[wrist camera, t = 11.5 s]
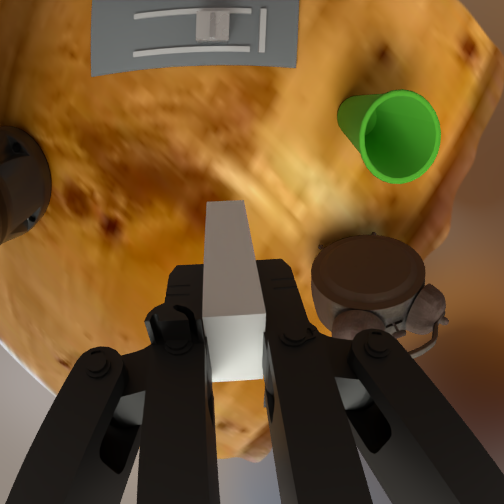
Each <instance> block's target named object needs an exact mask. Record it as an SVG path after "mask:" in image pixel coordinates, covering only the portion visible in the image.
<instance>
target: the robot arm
mask: <svg viewBox="0 0 504 504" xmlns="http://www.w3.org/2000/svg"><path fill="white" fill-rule="evenodd" d="M50 196H51V177H50V171H49V167H48V164H47V161H46V158H45V156H44V154H43V152H42V150H41V149H40V147H39V146H38V144H37V143H36V142H35V141H34V139H33V138H32V137H31V136H29V135H28V134H27V133H26V132H24V131H22V130H20V129H18V128H15V127H11V126H1V127H0V245H1V244H2V243H4V242H7V241H9V240H11V239H13V238H16V237H18V236H20V235H23V234H25V233H26V232H28V231H29V230H31V229H32V228H33V227H34V226H35V225H36V223H37V222H38V221H39V220H40V219H41V218H42V216H43V215H44V213H45V212H46V209H47V207H48V204H49V201H50ZM144 322H145V325H146V328H147V331H148V335H149V338H150V341H151V345H149V346H148V347H146V348H144V349H142V350H139V351H137V352H133V353H129V354H125V355H122V356H121V355H120V354H119V353H118V352H117V351H116V350H114V349H112V348H110V347H101V346H100V347H96V348H92V349H90V350H88V351H86V352H85V353H83V354H82V355H81V356H80V358H79V359H78V360H77V361H76V363H75V365H74V367H73V368H72V370H71V372H70V373H69V375H68V377H67V379H66V380H65V382H64V384H63V386H62V388H61V389H60V391H59V393H58V395H57V397H56V398H55V400H54V402H53V404H52V406H51V408H50V410H49V411H48V414H47V415H46V417H45V419H44V421H43V423H42V425H41V427H40V429H39V431H38V433H37V435H36V437H35V439H34V441H33V443H32V445H31V447H30V449H29V451H28V453H27V455H26V458H25V460H24V462H23V464H22V466H21V469H20V471H19V473H18V475H17V477H16V480H15V482H14V484H13V487H12V489H11V491H10V494H9V496H8V499H7V501H6V503H5V504H120V502H121V499H122V495H123V493H124V490H125V487H126V484H127V481H128V478H129V475H130V473H131V469H132V467H133V464H134V461H135V458H136V455H137V452H138V449H139V447H140V453H139V468H138V486H137V504H220V495H219V481H218V467H217V451H216V433H215V413H214V396H213V391H212V382H221V381H238V380H252V379H263V375H264V381H265V394H264V407H266V408H267V415H268V421H269V428H270V434H271V441H272V447H273V453H274V460H275V466H276V472H277V479H278V485H279V492H280V498H281V504H373V502H372V499H371V495H370V492H369V489H368V485H367V481H366V478H365V474H364V471H363V467H362V464H361V460H360V457H359V454H358V451H357V447H358V449H359V451H360V452H361V454H362V456H363V457H364V459H365V460H366V462H367V463H368V465H369V467H370V468H371V470H372V472H373V473H374V475H375V476H376V478H377V480H378V481H379V483H380V485H381V486H382V488H383V489H384V491H385V492H386V494H387V496H388V497H389V499H390V501H391V502H392V504H504V474H503V473H502V472H501V470H500V469H499V467H498V466H497V465H496V463H495V462H494V461H493V459H492V458H491V457H490V455H489V454H488V453H487V451H486V450H485V449H484V447H483V446H482V444H481V443H480V442H479V440H478V439H477V438H476V437H475V435H474V434H473V433H472V431H471V430H470V429H469V427H468V426H467V425H466V424H465V422H464V421H463V420H462V418H461V417H460V416H459V415H458V413H457V412H456V411H455V409H454V408H453V407H452V406H451V404H450V403H449V402H448V401H447V400H446V398H445V397H444V396H443V394H442V393H441V392H440V391H439V389H438V388H437V387H436V386H435V385H434V383H433V382H432V381H431V380H430V378H429V377H428V376H427V375H426V374H425V373H424V371H423V370H422V369H421V368H420V366H419V365H418V364H417V363H416V362H415V360H414V359H413V358H412V357H411V356H410V355H409V353H408V352H407V351H406V350H405V349H404V348H403V346H402V345H401V344H400V343H399V342H398V340H397V339H396V338H395V337H393V336H392V335H391V334H390V333H388V332H385V331H383V330H381V329H373V328H371V329H365V330H362V331H360V332H359V333H357V334H356V335H355V337H354V338H353V340H347V339H340V338H333V337H329V336H326V335H324V334H322V333H320V332H319V331H318V330H317V328H316V327H315V326H314V325H312V324H311V323H310V322H309V320H308V318H307V315H306V312H305V309H304V306H303V303H302V300H301V297H300V294H299V291H298V288H297V285H296V282H295V280H294V276H293V273H292V270H291V267H290V266H289V265H288V264H287V263H285V262H284V261H283V260H282V259H269V260H255V255H254V250H253V245H252V240H251V235H250V229H249V224H248V219H247V214H246V209H245V204H244V200H239V201H217V202H207V209H206V227H205V248H204V264H195V265H177V266H176V267H175V268H174V270H173V271H172V272H171V273H170V275H169V279H168V285H167V291H166V297H165V303H163V304H161V305H159V306H157V307H155V308H154V309H152V310H151V311H150V312H149V313H148V314H147V317H146V319H145V321H144ZM356 446H357V447H356Z"/></svg>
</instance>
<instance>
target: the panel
mask: <svg viewBox="0 0 504 504" xmlns="http://www.w3.org/2000/svg"><path fill="white" fill-rule="evenodd" d="M197 11H230V17H229V40H228V42H227V43H197V41H196V16H197ZM298 17H299V0H92V17H91V77H94V76H100V75H106V74H113V73H120V72H127V71H135V70H144V69H153V68H165V67H179V66H200V65H252V66H273V67H288V68H296V58H297V39H298Z"/></svg>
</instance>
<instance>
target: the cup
mask: <svg viewBox="0 0 504 504" xmlns="http://www.w3.org/2000/svg"><path fill="white" fill-rule="evenodd" d="M337 120H338V124H339V127H340V128H341V130H342V131H343V133H344V134H345V135H346V136H347V137H348V139H349V140H350V141H351V142H352V144H353V145H354V146H355V147H356V149H357V150H358V151H359V152H360V154H361V157H362V159H363V161H364V163H365V165H366V167H367V168H368V170H369V171H370V172H371V173H372V174H373V175H374V176H375V177H377V178H379V179H380V180H382V181H385V182H388V183H391V184H403V183H407V182H411V181H413V180H415V179H417V178H419V177H420V176H421V175H423V174H424V173H425V172H426V171H427V170H428V169H429V167H430V166H431V165H432V163H433V162H434V160H435V158H436V156H437V154H438V150H439V146H440V140H441V130H440V123H439V120H438V117H437V115H436V112H435V111H434V109H433V108H432V106H431V105H430V103H429V102H428V101H427V100H426V99H425V98H424V97H422V96H421V95H419V94H417V93H415V92H413V91H409V90H404V89H400V90H392V91H389V92H387V93H385V94H372V95H359V96H352V97H350V98H347V99H346V100H345V101H344V102H343V103H342V104H341V105H340V107H339V110H338V114H337Z"/></svg>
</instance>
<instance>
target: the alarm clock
mask: <svg viewBox="0 0 504 504" xmlns="http://www.w3.org/2000/svg"><path fill="white" fill-rule="evenodd" d="M318 248H319V249H322V251H321V252H320V253H319V254H318V255H317V257H316V258H315V260H314V262H313V264H312V269H311V290H312V297H313V301H314V305H315V309H316V312H317V315H318V317H319V319H320V321H321V322H322V323H323V325H324V326H325V327H326V328H327V329H329V330H330V331H331V332H332V337H333V338H340V339H347V340H353V338H354V337H355V335H356V334H357V333H359V332H360V331H362V330H365V329H371V328H373V329H381V330H383V331H385V332H388V333H390V334H391V335H392V336H393V337H395V338H396V339H397V338H400V337H402V336H405V335H406V331H405V330H408V331H410V332H412V333H415V334H421V335H424V334H428V333H430V332H431V331H433V333H432V339H431V340H430V341H429V342H427V343H426V344H424V345H423V346H421V347H419V348H417V349H415V350H412V351H410V352H408V353H409V355H410V356H411V357H412V358H416V357H418V356H420V355H422V354H424V353H425V352H427V351H428V350H429V349H431V348H432V347H433V346H434V344H435V343H436V340H437V336H438V325H439V323H440V324H442V325H447V324H448V322H449V320H448V319H447V318H446V317H444V315H445V308H446V304H445V298H444V295H443V294H442V293H441V292H440V291H439V290H438V289H437V288H435V287H434V286H433V285H431V284H427V285H426V286H425V266H424V263H423V261H422V259H421V257H420V256H419V254H418V253H417V252H416V251H415V250H414V249H413V248H411V247H410V246H408V245H407V244H405V243H403V242H401V241H399V240H396V239H393V238H390V237H385V236H379V235H376V232H372V235H359V236H352V237H348V238H344V239H341V240H339V241H336V242H334V243H332V244H330V245H329V246H327V247H326V248H325V247H323V246H322V245H319V246H318Z"/></svg>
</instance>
